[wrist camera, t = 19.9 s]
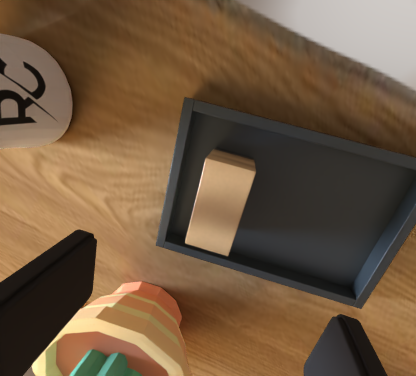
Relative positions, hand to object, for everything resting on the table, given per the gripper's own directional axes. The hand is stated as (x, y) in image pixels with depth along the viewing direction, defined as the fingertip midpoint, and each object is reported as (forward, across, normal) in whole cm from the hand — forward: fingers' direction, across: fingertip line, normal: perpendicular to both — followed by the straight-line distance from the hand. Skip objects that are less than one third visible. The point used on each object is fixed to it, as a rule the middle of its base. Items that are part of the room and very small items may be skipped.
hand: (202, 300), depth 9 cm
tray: (+14, -4, 0) cm, 14 cm away
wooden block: (+13, +1, 0) cm, 13 cm away
